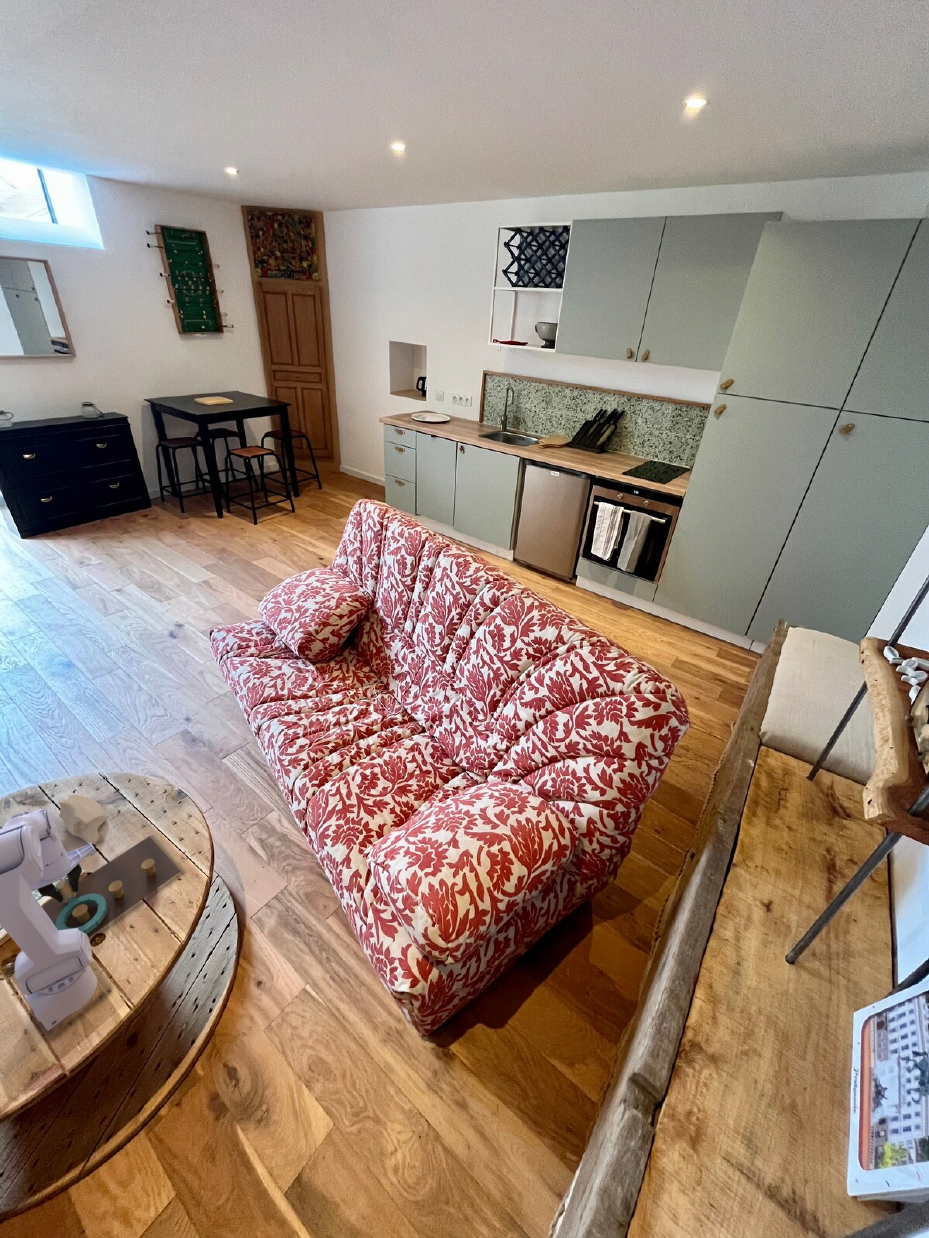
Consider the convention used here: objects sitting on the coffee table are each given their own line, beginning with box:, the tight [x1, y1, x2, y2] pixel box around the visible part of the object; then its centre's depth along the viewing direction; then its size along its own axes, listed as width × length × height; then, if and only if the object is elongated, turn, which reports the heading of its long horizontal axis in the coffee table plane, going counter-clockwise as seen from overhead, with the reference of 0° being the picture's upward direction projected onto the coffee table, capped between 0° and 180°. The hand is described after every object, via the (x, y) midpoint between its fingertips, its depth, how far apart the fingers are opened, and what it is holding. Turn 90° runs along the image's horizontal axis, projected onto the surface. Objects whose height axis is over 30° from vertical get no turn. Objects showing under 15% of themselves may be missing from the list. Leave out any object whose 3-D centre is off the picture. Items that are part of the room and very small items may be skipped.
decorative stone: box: [58, 794, 108, 845], centre depth 128 cm, size 8×14×8 cm, turn 51°
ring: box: [54, 878, 108, 934], centre depth 109 cm, size 9×13×5 cm
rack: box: [41, 836, 181, 939], centre depth 115 cm, size 23×15×4 cm, turn 144°
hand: (67, 893), depth 112 cm, fingers closed on ring, 2 cm apart
